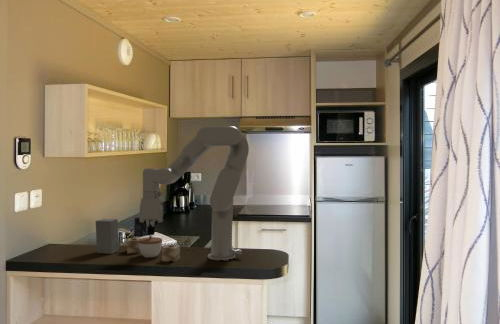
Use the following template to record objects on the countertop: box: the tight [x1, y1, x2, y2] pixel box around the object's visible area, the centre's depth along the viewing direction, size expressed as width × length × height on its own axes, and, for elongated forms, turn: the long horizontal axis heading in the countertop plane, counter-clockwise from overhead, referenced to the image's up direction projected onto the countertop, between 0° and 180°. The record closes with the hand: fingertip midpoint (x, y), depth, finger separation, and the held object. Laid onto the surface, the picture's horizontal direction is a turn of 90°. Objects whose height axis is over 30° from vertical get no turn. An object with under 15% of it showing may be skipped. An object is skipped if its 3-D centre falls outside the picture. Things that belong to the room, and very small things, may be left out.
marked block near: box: [161, 244, 181, 263], centre depth 184 cm, size 6×6×6 cm
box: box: [133, 216, 152, 238], centre depth 241 cm, size 11×7×10 cm, turn 148°
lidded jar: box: [138, 235, 163, 259], centre depth 190 cm, size 11×11×9 cm
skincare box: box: [95, 218, 120, 255], centre depth 195 cm, size 8×7×16 cm
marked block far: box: [126, 237, 142, 254], centre depth 198 cm, size 6×6×6 cm
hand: (151, 234), depth 190 cm, fingers closed
